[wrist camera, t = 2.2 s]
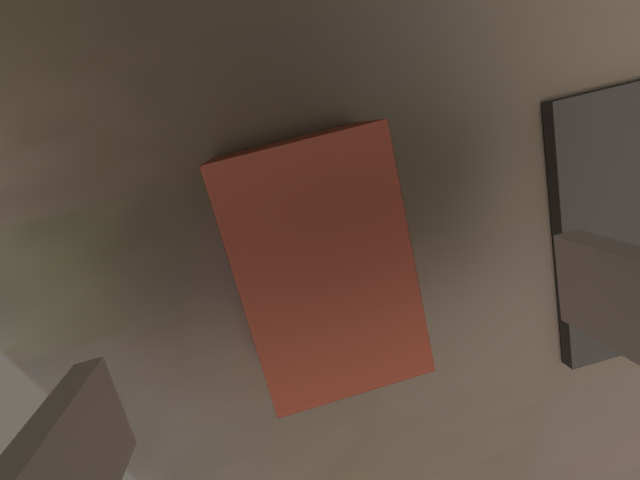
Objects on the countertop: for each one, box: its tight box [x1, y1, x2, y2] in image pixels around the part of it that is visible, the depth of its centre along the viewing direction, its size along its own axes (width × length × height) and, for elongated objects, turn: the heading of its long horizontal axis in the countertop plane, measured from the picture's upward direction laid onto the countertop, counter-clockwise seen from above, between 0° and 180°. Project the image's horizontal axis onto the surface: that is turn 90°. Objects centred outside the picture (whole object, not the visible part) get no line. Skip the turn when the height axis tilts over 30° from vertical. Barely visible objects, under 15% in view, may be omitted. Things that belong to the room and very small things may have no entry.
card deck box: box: [199, 119, 435, 418], centre depth 18 cm, size 10×6×5 cm, turn 13°
